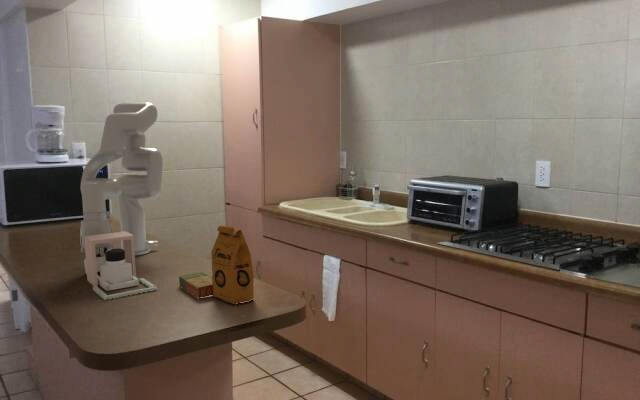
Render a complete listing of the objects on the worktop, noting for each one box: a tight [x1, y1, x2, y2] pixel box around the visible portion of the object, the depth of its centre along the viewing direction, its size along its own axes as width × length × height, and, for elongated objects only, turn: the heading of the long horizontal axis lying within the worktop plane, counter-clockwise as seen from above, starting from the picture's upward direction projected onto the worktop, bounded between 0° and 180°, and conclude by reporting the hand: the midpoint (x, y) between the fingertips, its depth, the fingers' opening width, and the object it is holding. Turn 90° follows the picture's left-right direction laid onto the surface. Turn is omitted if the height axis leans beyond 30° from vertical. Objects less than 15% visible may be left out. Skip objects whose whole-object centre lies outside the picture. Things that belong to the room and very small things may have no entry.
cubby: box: [84, 231, 137, 287], centre depth 189 cm, size 14×9×15 cm, turn 126°
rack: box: [84, 255, 140, 292], centre depth 190 cm, size 10×26×5 cm, turn 36°
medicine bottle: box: [99, 248, 132, 284], centre depth 184 cm, size 7×7×12 cm
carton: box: [178, 271, 213, 298], centre depth 177 cm, size 8×16×4 cm, turn 34°
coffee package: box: [210, 225, 255, 305], centre depth 167 cm, size 10×12×22 cm
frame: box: [92, 277, 158, 301], centre depth 179 cm, size 16×13×1 cm
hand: (98, 266), depth 202 cm, fingers closed
